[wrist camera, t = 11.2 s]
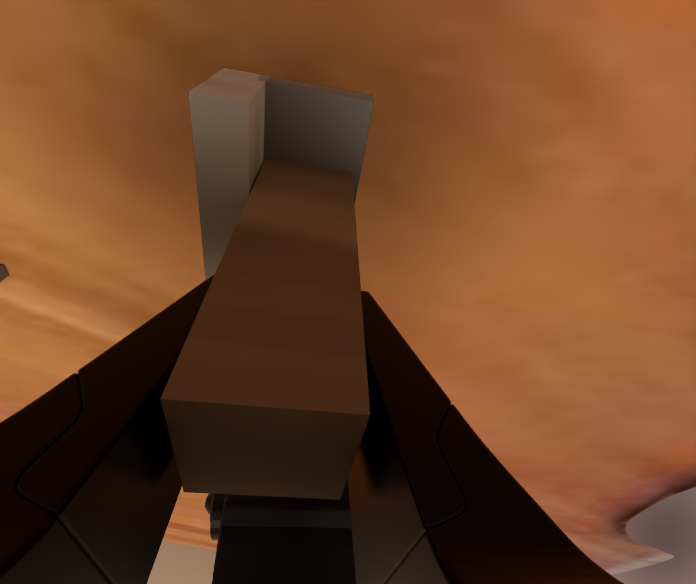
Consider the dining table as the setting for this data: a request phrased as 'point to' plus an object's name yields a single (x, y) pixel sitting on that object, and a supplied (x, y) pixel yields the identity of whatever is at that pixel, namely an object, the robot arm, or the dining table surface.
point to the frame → (3, 273)
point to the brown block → (274, 292)
